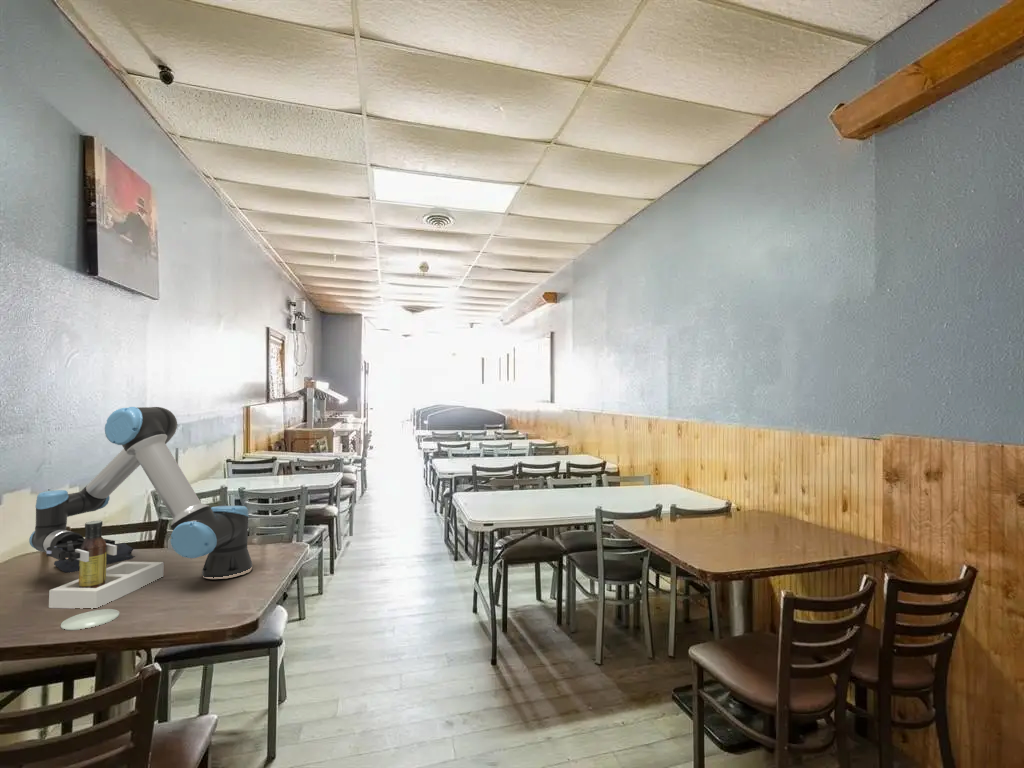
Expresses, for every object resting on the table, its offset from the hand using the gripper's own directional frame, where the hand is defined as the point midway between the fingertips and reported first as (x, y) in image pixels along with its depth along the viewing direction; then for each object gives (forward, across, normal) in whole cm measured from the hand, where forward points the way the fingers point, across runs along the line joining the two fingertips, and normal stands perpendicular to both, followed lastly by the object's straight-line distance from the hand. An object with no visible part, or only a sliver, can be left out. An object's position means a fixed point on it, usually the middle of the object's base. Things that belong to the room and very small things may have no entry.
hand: (101, 553), depth 145 cm
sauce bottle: (-5, 0, -11) cm, 12 cm away
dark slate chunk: (-46, -18, -15) cm, 52 cm away
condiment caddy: (-8, -6, -14) cm, 17 cm away
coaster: (+12, +7, -14) cm, 20 cm away
